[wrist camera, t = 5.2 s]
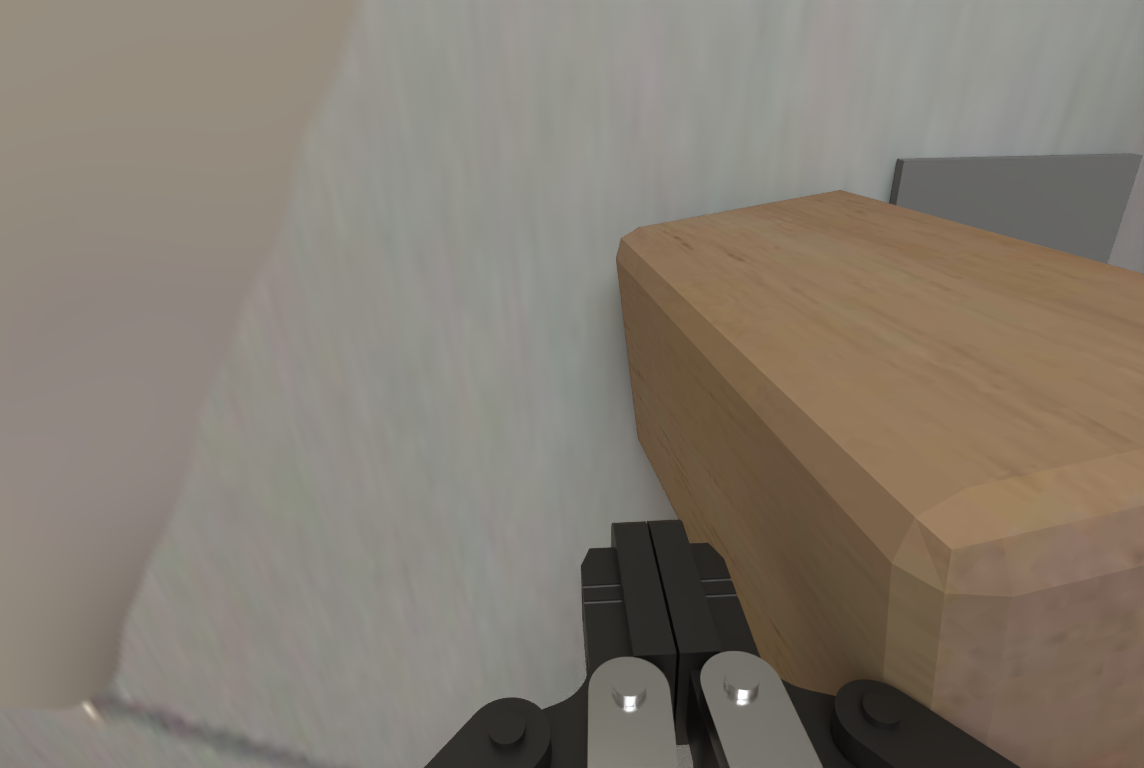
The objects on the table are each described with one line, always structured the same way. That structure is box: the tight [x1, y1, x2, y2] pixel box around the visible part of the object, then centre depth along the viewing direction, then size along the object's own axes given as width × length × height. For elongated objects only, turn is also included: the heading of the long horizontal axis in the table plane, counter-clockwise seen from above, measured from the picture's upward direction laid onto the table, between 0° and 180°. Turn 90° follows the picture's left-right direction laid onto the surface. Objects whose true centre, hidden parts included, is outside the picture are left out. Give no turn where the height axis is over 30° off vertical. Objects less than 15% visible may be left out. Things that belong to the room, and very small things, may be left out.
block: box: [616, 190, 1144, 768], centre depth 19 cm, size 10×10×20 cm
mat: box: [890, 154, 1142, 264], centre depth 29 cm, size 9×13×1 cm
